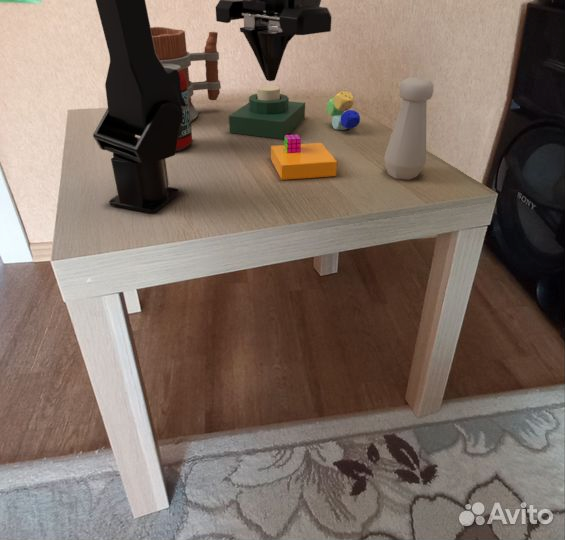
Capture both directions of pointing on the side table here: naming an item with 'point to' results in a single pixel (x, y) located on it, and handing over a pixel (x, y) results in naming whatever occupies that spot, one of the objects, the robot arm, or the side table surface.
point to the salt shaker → (409, 130)
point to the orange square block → (302, 159)
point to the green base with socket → (267, 117)
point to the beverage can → (185, 127)
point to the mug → (188, 60)
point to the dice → (337, 108)
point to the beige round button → (268, 93)
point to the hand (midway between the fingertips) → (270, 80)
